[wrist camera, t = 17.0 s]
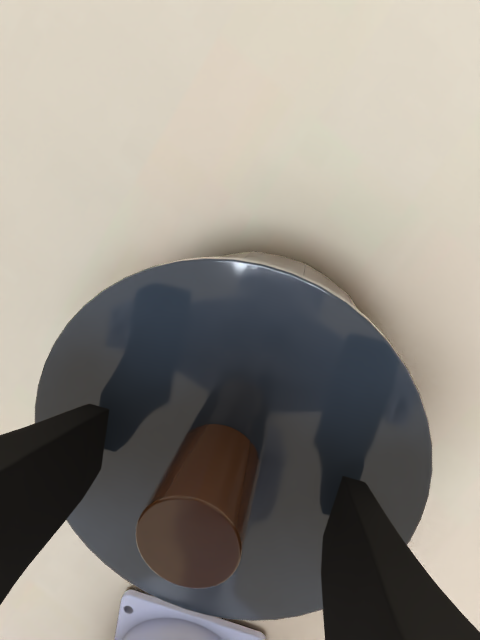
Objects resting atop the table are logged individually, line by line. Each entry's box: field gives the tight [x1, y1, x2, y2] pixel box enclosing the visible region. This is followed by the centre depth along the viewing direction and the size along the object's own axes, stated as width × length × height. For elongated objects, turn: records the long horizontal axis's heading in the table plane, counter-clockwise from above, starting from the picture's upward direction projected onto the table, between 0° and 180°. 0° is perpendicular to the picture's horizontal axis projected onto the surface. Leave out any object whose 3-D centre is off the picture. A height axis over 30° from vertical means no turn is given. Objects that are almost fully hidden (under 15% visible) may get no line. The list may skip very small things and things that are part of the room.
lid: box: [35, 257, 432, 621], centre depth 11 cm, size 12×12×4 cm
